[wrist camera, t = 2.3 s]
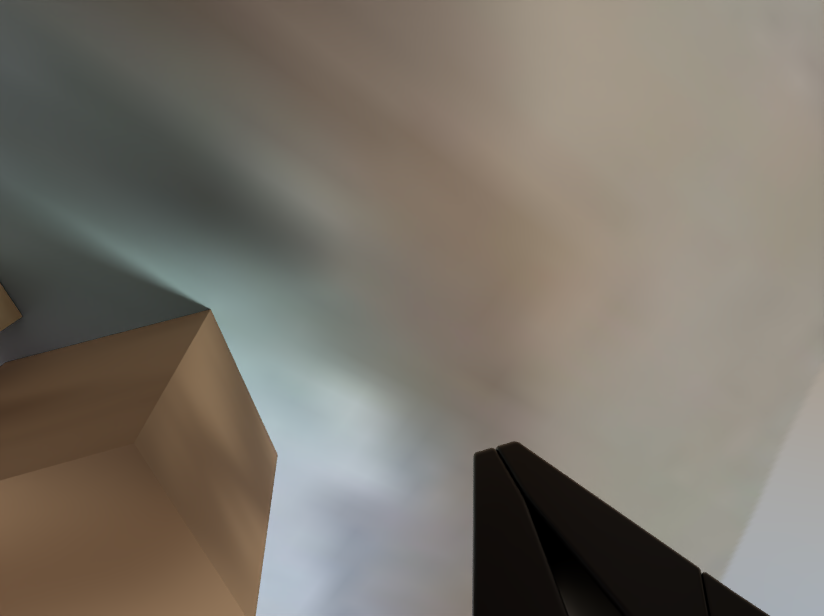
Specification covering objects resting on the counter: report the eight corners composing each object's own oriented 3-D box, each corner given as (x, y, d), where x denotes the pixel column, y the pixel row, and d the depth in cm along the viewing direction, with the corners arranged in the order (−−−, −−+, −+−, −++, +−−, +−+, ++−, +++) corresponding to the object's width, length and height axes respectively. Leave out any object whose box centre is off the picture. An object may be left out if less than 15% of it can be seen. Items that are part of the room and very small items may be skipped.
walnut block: (277, 452, 13) (254, 628, 9) (110, 501, 13) (-5, 710, 8) (211, 308, 11) (133, 443, 7) (6, 360, 11) (-223, 543, 6)
